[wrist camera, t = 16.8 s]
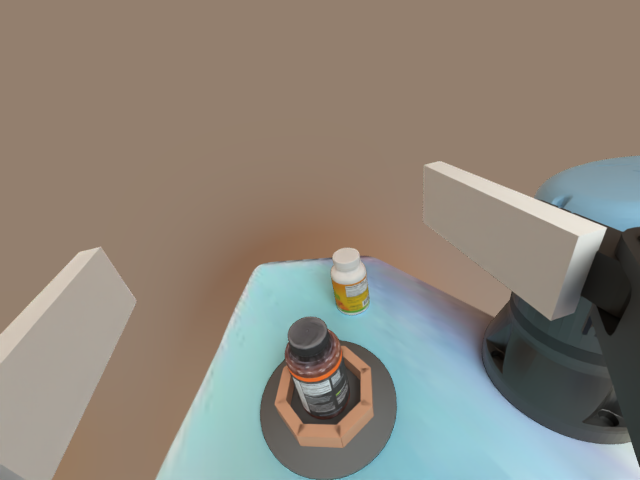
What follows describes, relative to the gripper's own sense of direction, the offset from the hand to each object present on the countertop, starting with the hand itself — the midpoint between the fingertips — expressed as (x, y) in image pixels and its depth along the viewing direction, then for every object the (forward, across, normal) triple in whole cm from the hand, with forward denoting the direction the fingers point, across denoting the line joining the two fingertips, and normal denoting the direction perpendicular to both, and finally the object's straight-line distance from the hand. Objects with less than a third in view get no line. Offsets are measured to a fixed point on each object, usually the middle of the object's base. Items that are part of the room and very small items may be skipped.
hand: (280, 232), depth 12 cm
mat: (+10, 0, -28) cm, 30 cm away
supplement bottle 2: (+23, +8, -28) cm, 38 cm away
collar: (+10, 0, -28) cm, 29 cm away
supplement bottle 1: (+10, 0, -28) cm, 29 cm away
